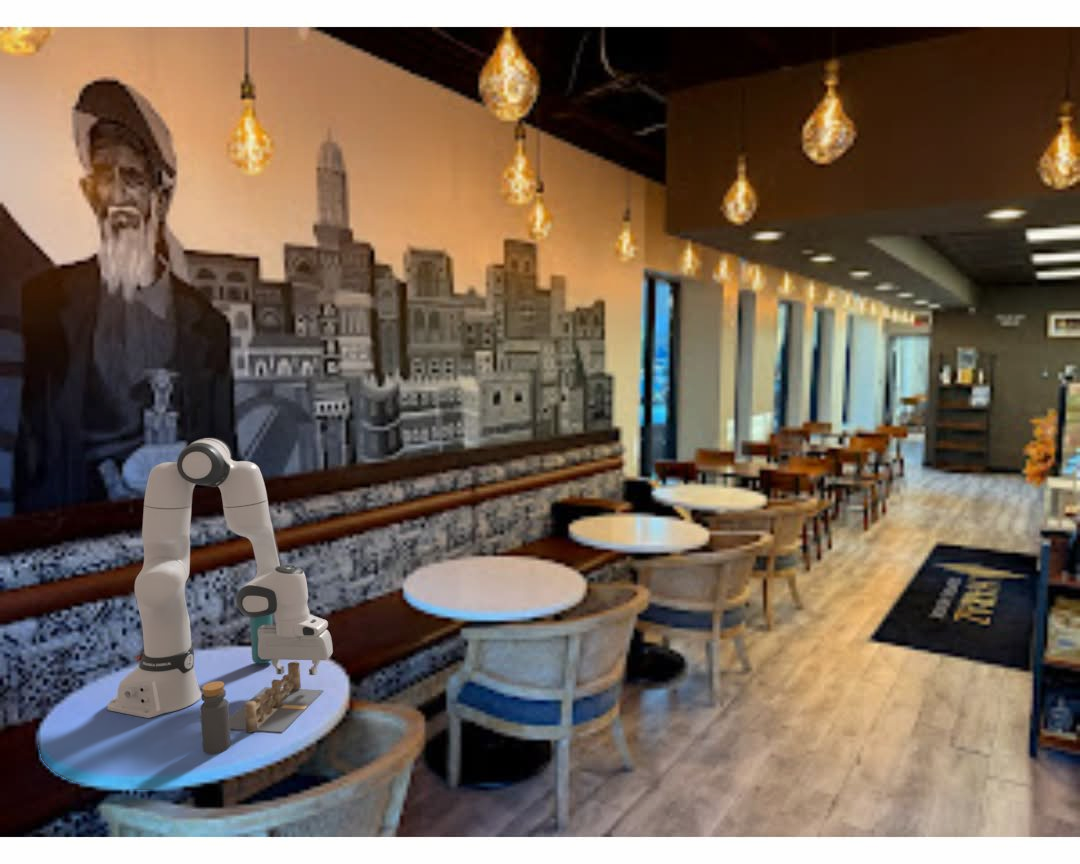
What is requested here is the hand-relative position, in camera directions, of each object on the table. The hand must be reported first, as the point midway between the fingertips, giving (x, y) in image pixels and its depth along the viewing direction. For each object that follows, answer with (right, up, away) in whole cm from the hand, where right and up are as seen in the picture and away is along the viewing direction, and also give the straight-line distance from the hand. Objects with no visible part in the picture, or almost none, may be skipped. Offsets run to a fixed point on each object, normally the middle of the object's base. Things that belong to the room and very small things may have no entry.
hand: (296, 674), depth 195 cm
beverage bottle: (-16, -3, +18) cm, 24 cm away
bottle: (-9, -8, -28) cm, 31 cm away
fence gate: (-1, -4, -3) cm, 5 cm away
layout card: (-3, -6, -10) cm, 12 cm away
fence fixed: (-3, -6, -16) cm, 17 cm away
